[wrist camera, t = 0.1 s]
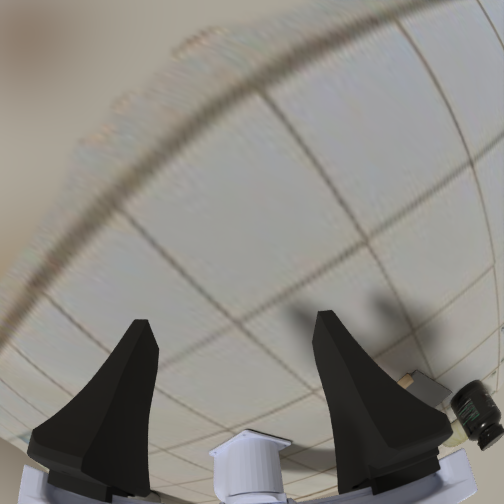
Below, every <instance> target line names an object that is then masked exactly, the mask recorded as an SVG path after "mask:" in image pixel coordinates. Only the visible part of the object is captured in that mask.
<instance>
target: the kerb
mask: <svg viewBox="0 0 504 504" xmlns="http://www.w3.org/2000/svg"><path fill="white" fill-rule="evenodd" d="M413 382H414V381H413V379H412V377H411V375H409V374H408V373H407V374H406V375H405V376H404V377H403V378H402V379H400V380H399V381H398V382H397V383H398V384H399V385H400V386H402V387H403V388H404V389H406V388H407V387H408V386H409V385H410V384H412V383H413Z"/></svg>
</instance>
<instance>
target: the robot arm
mask: <svg viewBox="0 0 504 504" xmlns="http://www.w3.org/2000/svg"><path fill="white" fill-rule="evenodd" d="M312 344H313V350H314V356H315V361H316V365H317V369H318V372H319V376H320V379H321V383H322V386H323V389H324V393H325V396H326V400H327V403H328V407H329V411H330V417H331V423H332V429H333V436H334V444H335V453H336V463H337V478H338V492H339V495H336V496H331V497H327V498H321V499H315V500H309V501H303V502H296V501H294V500H293V499H292V498H287V497H286V493H284V489H283V481H282V474H281V466H280V458H279V451H280V450H282V449H284V448H286V447H287V446H289V445H291V442H290V441H287V440H283V439H279V438H275V437H272V436H268V435H264V434H261V433H257V432H254V431H251V430H244V431H242V432H241V433H239V434H238V435H236V436H235V437H233V438H231V439H230V440H228V441H227V442H225V443H223V444H222V445H220V446H219V447H217V448H215V449H213V450H212V451H210V452H209V455H211V456H214V491H215V494H216V496H217V497H218V498H219V500H220V501H222V502H220V503H219V504H458V503H459V502H461V501H463V500H464V499H466V498H468V497H469V496H471V495H473V494H474V493H476V492H477V490H478V489H477V486H476V483H475V479H474V476H473V473H472V470H471V467H470V463H469V460H468V458H467V455H466V452H465V449H464V448H462V449H460V450H458V451H456V452H453V453H451V454H449V455H447V456H445V457H443V458H441V459H439V460H438V458H437V455H438V454H439V450H438V446H440V445H441V444H442V443H444V442H445V441H446V440H448V439H449V438H450V437H451V436H452V435H453V430H452V427H451V424H450V421H449V419H448V417H447V415H446V414H444V413H442V412H440V411H438V410H437V409H435V408H433V407H431V406H429V405H427V404H426V403H424V402H423V401H421V400H420V399H418V398H416V397H415V396H414V395H412V394H411V393H410V392H408V391H407V390H406V389H404V388H403V387H402V386H400V385H399V384H398V383H397V382H396V381H394V380H393V379H392V378H391V377H390V376H389V375H388V374H386V373H385V372H384V371H383V370H382V369H381V368H380V367H379V366H378V365H377V364H376V363H375V362H374V361H373V360H372V359H371V358H370V356H369V355H368V354H367V353H366V352H365V351H364V350H363V349H362V347H361V346H360V345H359V344H358V343H357V341H356V340H355V339H354V338H353V337H352V335H351V334H350V333H349V332H348V330H347V329H346V328H345V326H344V325H343V324H342V322H341V321H340V320H339V318H338V317H337V316H336V314H335V313H334V312H333V311H332V310H327V311H318V314H317V320H316V325H315V330H314V335H313V340H312ZM158 358H159V347H158V345H157V342H156V340H155V337H154V335H153V332H152V330H151V327H150V324H149V322H148V320H147V319H135V320H134V321H133V322H132V324H131V325H130V327H129V328H128V330H127V331H126V333H125V334H124V336H123V337H122V339H121V340H120V342H119V343H118V344H117V346H116V347H115V349H114V350H113V352H112V353H111V354H110V356H109V357H108V359H107V360H106V361H105V363H104V364H103V365H102V367H101V368H100V369H99V370H98V372H97V373H96V374H95V375H94V377H93V378H92V379H91V380H90V381H89V383H88V384H87V385H86V386H85V387H84V388H83V389H82V390H81V391H80V392H79V393H78V394H77V395H76V396H75V397H74V398H73V399H72V400H71V401H70V402H69V403H68V404H67V405H66V406H64V407H63V408H62V409H61V410H60V411H58V412H57V413H56V414H55V415H54V416H52V417H51V418H50V419H48V420H47V421H45V422H44V423H42V424H41V425H39V426H38V427H36V428H35V429H33V431H32V435H31V438H30V442H29V446H28V450H27V454H28V456H29V457H30V458H32V459H33V460H35V461H36V462H38V463H40V464H42V465H43V466H45V467H47V468H48V469H50V470H49V474H48V473H46V472H43V471H41V470H38V469H36V468H34V467H31V466H29V465H24V470H23V475H22V481H21V486H20V493H19V498H18V504H163V503H155V502H149V501H142V500H136V499H131V498H128V496H130V497H135V496H139V497H147V496H148V495H149V494H150V493H151V491H150V482H149V470H148V424H149V414H150V407H151V402H152V397H153V391H154V386H155V381H156V375H157V370H158Z"/></svg>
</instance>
